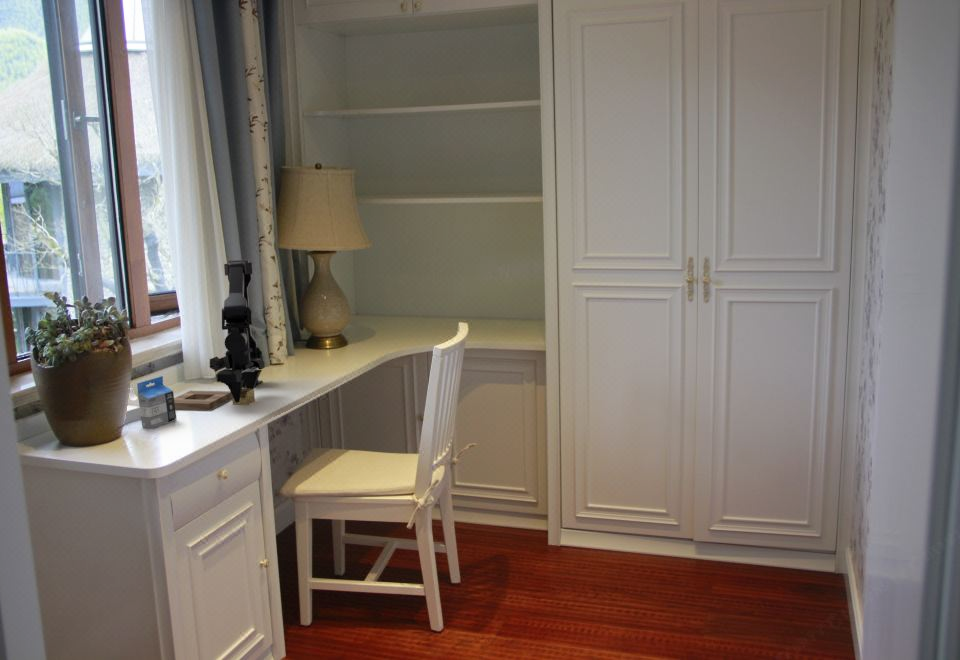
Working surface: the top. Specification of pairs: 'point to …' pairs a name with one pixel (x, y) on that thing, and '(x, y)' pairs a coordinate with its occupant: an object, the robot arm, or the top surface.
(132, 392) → the bracket
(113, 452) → the top surface
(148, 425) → the label tape box
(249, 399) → the tan wooden block
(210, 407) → the brown square frame
